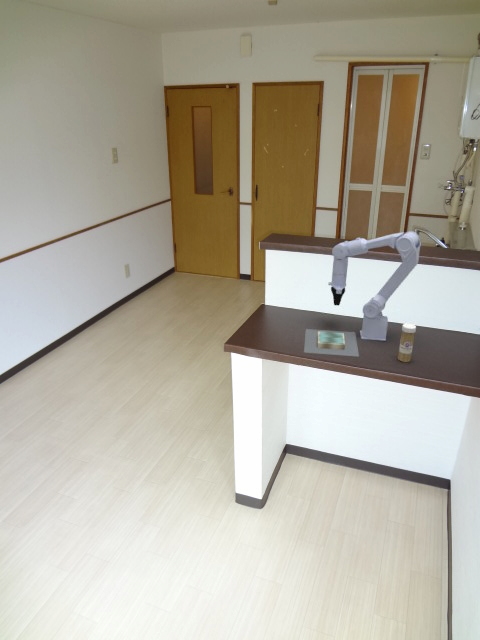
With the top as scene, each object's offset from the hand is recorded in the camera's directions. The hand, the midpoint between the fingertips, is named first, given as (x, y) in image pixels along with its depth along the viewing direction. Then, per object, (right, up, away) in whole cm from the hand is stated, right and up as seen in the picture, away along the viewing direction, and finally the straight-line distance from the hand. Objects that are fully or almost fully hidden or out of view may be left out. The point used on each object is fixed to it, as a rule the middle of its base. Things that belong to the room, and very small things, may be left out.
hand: (336, 304), depth 188 cm
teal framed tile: (-4, -12, -6) cm, 14 cm away
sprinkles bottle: (+20, -21, -22) cm, 36 cm away
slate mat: (-4, -15, -9) cm, 18 cm away
